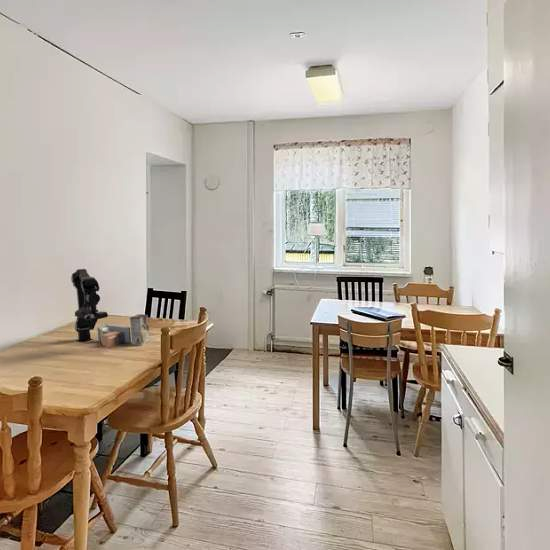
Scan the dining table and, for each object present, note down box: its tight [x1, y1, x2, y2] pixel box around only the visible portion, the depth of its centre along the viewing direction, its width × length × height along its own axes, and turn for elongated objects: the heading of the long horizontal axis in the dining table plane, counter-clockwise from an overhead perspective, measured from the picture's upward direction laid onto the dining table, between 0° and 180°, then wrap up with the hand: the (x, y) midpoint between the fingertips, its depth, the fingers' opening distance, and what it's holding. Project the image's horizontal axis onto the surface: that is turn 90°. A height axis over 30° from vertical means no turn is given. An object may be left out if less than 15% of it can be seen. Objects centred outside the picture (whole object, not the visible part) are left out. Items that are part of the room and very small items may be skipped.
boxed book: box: [101, 331, 121, 348], centre depth 237 cm, size 5×10×6 cm, turn 155°
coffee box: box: [129, 313, 151, 346], centre depth 237 cm, size 9×6×16 cm
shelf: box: [97, 324, 132, 344], centre depth 240 cm, size 19×7×9 cm, turn 65°
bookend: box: [116, 332, 130, 346], centre depth 236 cm, size 5×5×6 cm
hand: (92, 329), depth 225 cm, fingers closed
